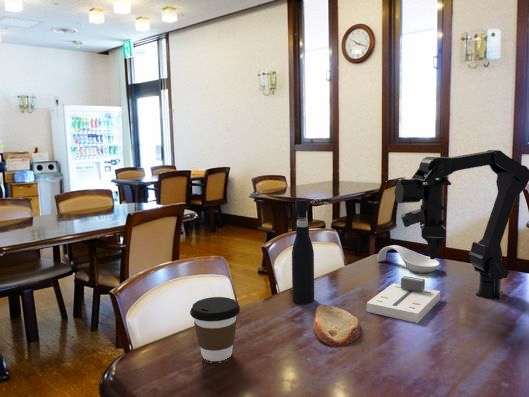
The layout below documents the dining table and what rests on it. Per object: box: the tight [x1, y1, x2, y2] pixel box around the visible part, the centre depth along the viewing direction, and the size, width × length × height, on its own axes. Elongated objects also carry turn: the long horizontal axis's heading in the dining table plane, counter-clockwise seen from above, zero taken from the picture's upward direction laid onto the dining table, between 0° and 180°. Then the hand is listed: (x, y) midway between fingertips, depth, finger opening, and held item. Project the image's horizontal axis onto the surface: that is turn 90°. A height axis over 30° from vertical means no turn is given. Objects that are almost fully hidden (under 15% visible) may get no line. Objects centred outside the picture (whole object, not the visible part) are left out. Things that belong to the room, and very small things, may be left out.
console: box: [365, 282, 441, 324], centre depth 129 cm, size 20×14×3 cm
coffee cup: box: [189, 296, 241, 361], centre depth 101 cm, size 11×11×12 cm
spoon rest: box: [376, 244, 441, 274], centre depth 165 cm, size 24×12×7 cm, turn 40°
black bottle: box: [291, 198, 315, 305], centre depth 133 cm, size 6×6×30 cm
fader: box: [400, 275, 426, 292], centre depth 134 cm, size 3×6×3 cm, turn 54°
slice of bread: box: [312, 304, 361, 348], centre depth 115 cm, size 18×18×4 cm
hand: (431, 255), depth 131 cm, fingers open, 9 cm apart
